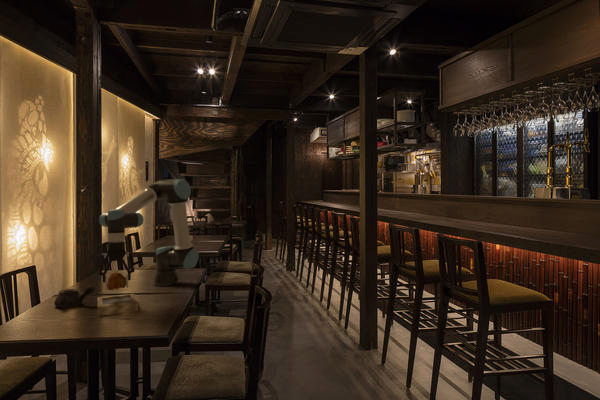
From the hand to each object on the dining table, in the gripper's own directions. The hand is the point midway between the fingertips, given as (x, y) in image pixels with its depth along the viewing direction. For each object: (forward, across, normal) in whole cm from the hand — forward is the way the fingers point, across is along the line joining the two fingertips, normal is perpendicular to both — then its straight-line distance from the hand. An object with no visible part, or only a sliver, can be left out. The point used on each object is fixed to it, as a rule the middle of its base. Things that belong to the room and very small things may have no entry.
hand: (116, 288), depth 199 cm
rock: (+1, 0, -1) cm, 1 cm away
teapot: (+10, +18, -15) cm, 26 cm away
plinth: (+10, 0, 0) cm, 10 cm away
